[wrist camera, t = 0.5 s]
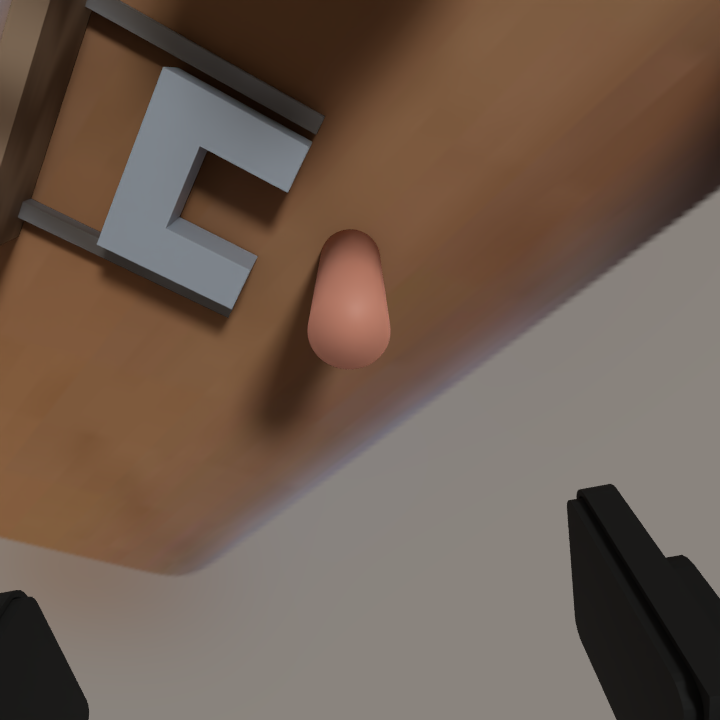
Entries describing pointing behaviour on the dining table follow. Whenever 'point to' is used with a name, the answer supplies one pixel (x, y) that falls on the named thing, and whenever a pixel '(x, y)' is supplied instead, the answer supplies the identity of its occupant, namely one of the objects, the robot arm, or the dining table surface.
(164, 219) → the block
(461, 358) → the dining table surface
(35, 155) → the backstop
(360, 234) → the dowel
